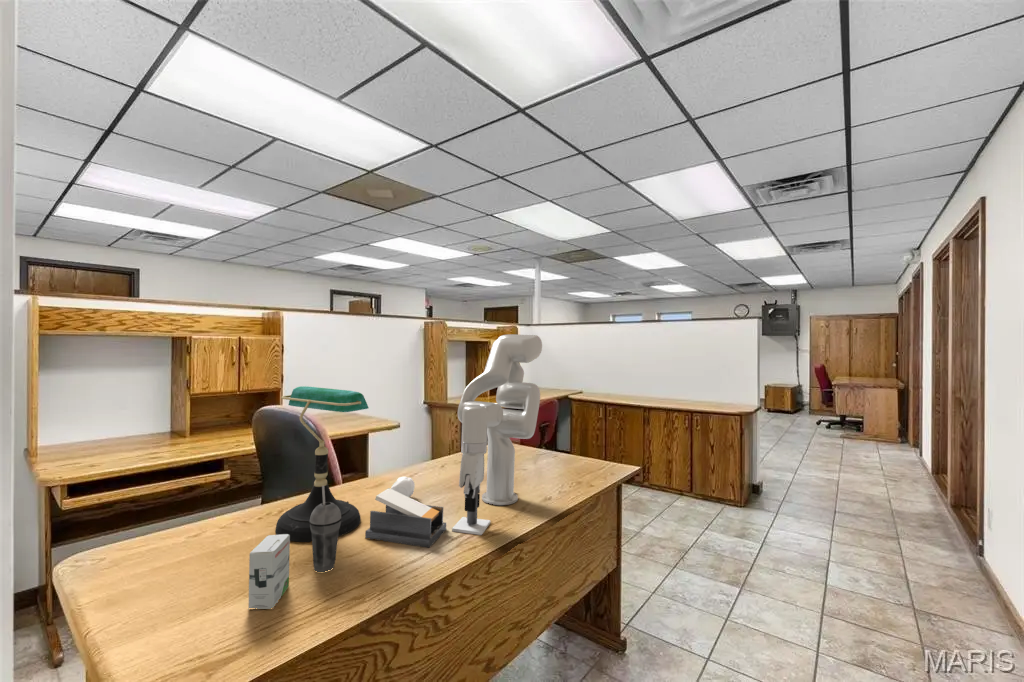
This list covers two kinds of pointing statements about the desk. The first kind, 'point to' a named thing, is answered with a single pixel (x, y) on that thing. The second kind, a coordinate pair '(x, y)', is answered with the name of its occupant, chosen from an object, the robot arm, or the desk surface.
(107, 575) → the desk surface
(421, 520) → the tilting lid box
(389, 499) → the tilting box lid
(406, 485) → the white lumpy ball
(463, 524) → the mat
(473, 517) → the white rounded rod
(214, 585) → the desk surface
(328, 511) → the beverage cup
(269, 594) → the ink box
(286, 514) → the banker's lamp
